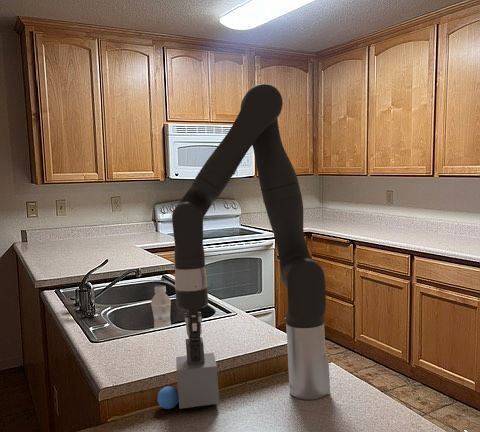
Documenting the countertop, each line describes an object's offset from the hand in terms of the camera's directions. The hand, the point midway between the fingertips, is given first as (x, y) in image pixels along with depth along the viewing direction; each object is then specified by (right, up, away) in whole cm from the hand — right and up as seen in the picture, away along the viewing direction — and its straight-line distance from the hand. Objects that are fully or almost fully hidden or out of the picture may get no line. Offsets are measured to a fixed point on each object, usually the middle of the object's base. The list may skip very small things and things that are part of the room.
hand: (195, 357), depth 110 cm
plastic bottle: (-15, -10, +46) cm, 50 cm away
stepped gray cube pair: (+1, -10, 0) cm, 10 cm away
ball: (-6, -9, -1) cm, 11 cm away
